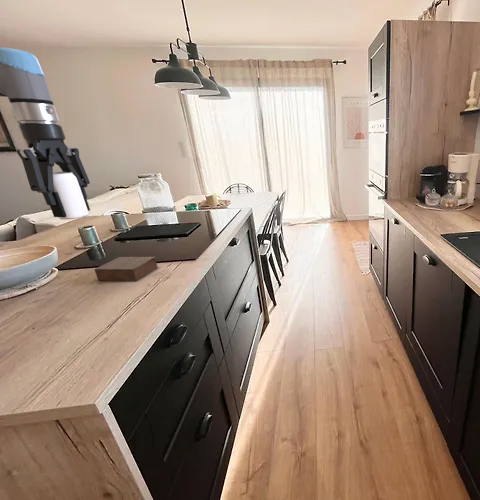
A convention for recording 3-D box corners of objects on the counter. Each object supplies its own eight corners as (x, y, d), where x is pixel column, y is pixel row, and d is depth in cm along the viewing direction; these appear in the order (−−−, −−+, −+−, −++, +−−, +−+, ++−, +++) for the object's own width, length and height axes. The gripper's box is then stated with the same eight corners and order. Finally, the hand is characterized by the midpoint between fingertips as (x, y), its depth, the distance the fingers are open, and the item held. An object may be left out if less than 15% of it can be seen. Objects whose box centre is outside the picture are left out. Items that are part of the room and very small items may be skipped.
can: (62, 220, 76) (45, 174, 72) (54, 218, 79) (37, 173, 75) (93, 215, 81) (78, 172, 77) (84, 213, 84) (69, 171, 80)
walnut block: (98, 280, 88) (94, 269, 87) (123, 267, 97) (119, 256, 96) (136, 281, 88) (133, 269, 86) (157, 267, 97) (154, 256, 96)
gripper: (10, 120, 62) (50, 222, 71) (89, 125, 81) (114, 206, 89) (-23, 121, 63) (21, 222, 71) (63, 125, 81) (90, 206, 89)
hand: (73, 213), depth 80 cm, fingers closed on can, 6 cm apart
